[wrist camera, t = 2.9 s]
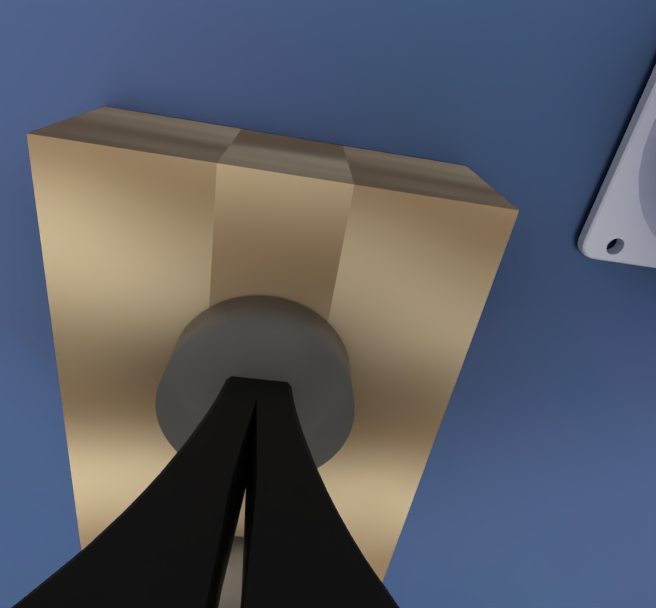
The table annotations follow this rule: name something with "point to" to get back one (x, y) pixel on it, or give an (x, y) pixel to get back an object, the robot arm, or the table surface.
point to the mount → (256, 289)
